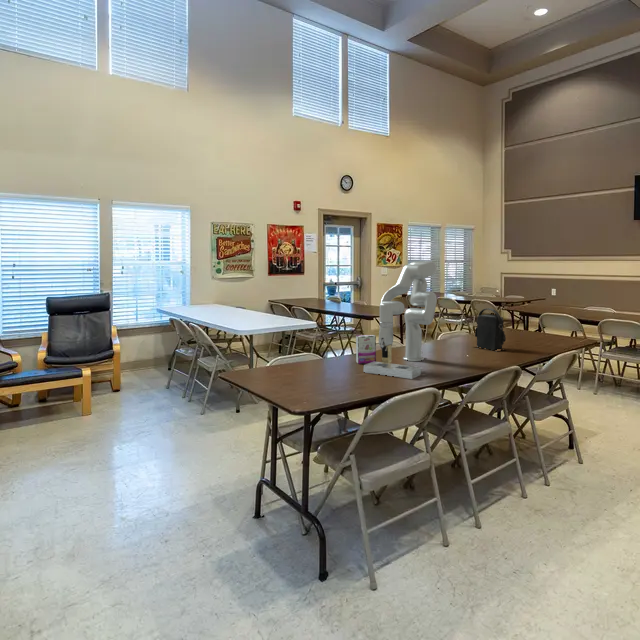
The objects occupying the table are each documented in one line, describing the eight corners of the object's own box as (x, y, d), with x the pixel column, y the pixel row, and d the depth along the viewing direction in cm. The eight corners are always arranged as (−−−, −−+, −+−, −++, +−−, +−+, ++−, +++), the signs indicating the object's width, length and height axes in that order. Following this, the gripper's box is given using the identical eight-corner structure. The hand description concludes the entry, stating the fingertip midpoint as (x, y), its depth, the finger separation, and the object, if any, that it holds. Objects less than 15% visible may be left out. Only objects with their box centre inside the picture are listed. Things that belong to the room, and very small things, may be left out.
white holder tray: (373, 368, 266) (373, 361, 265) (420, 374, 250) (421, 367, 250) (363, 372, 256) (363, 365, 255) (411, 379, 240) (412, 371, 240)
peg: (385, 361, 270) (384, 344, 269) (391, 361, 268) (391, 344, 267) (381, 362, 267) (381, 345, 265) (388, 363, 265) (388, 345, 263)
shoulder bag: (470, 347, 330) (471, 307, 327) (478, 345, 336) (480, 306, 332) (498, 352, 312) (500, 309, 309) (506, 350, 317) (508, 309, 314)
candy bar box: (373, 361, 284) (373, 334, 282) (376, 363, 280) (376, 335, 278) (355, 362, 282) (355, 335, 280) (357, 364, 277) (358, 336, 275)
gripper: (386, 322, 273) (387, 353, 276) (373, 326, 260) (373, 359, 262) (398, 323, 269) (399, 354, 272) (385, 327, 255) (386, 360, 258)
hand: (386, 356), depth 267 cm, fingers closed on peg, 4 cm apart
